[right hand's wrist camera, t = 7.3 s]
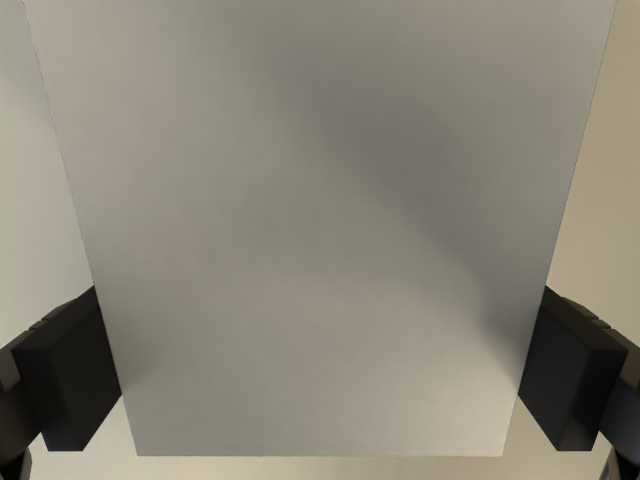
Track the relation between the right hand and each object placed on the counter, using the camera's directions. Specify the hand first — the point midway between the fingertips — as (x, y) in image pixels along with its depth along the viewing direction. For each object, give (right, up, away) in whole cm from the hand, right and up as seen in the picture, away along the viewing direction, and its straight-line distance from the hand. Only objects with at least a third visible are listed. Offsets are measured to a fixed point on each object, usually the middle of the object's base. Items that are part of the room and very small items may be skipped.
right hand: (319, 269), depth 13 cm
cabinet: (0, +6, +2) cm, 6 cm away
